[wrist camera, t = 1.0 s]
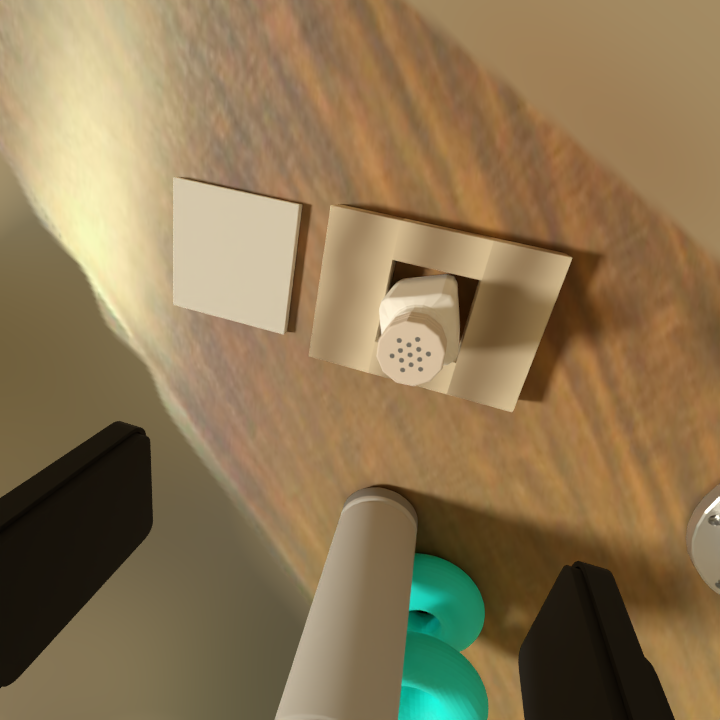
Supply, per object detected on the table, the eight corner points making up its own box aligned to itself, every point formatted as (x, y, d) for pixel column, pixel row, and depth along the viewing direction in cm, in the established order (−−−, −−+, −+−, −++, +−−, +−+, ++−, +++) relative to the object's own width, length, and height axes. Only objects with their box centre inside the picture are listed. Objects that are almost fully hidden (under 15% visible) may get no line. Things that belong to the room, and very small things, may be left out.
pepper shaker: (457, 271, 27) (451, 309, 18) (460, 331, 28) (457, 393, 20) (395, 277, 28) (361, 316, 19) (401, 335, 29) (373, 395, 21)
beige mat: (302, 204, 27) (299, 204, 27) (286, 331, 31) (283, 334, 31) (178, 177, 29) (173, 176, 28) (178, 302, 32) (173, 304, 32)
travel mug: (326, 512, 36) (203, 849, 18) (377, 472, 33) (289, 826, 15) (380, 555, 37) (311, 917, 19) (434, 520, 34) (412, 908, 16)
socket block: (564, 252, 25) (572, 257, 23) (509, 398, 29) (512, 412, 27) (340, 204, 27) (330, 205, 25) (317, 346, 31) (308, 356, 29)
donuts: (381, 766, 31) (313, 673, 29) (401, 637, 40) (350, 558, 38) (514, 763, 27) (448, 656, 25) (503, 621, 36) (453, 533, 34)
